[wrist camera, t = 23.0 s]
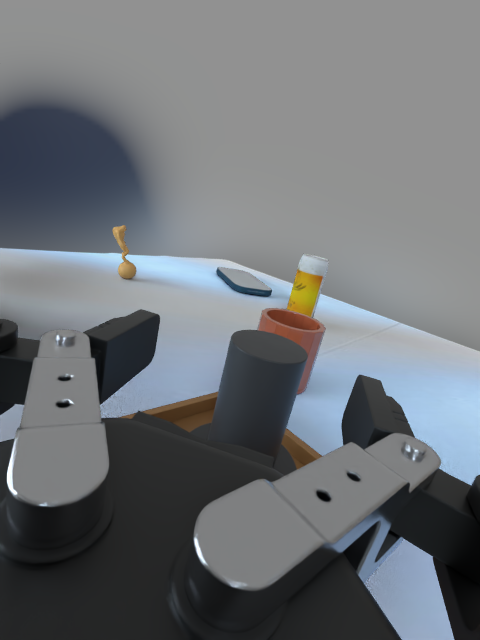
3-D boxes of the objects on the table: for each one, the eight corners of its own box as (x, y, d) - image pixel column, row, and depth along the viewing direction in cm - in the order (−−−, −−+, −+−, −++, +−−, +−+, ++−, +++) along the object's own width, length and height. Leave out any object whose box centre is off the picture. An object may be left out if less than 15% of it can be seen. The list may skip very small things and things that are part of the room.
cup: (234, 368, 49) (249, 309, 46) (274, 360, 55) (289, 307, 52) (279, 400, 43) (298, 334, 40) (318, 387, 49) (337, 329, 46)
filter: (152, 460, 28) (176, 323, 24) (238, 429, 35) (267, 317, 31) (225, 558, 22) (272, 392, 18) (314, 497, 28) (362, 366, 25)
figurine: (135, 284, 78) (142, 231, 74) (107, 280, 76) (113, 225, 72) (134, 275, 85) (140, 226, 82) (108, 271, 83) (113, 221, 79)
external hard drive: (213, 272, 111) (214, 265, 111) (246, 277, 116) (247, 271, 115) (235, 293, 91) (236, 286, 90) (274, 298, 95) (276, 291, 94)
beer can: (285, 315, 81) (302, 252, 77) (310, 322, 80) (329, 259, 76) (282, 322, 76) (301, 254, 71) (310, 329, 75) (330, 262, 70)
